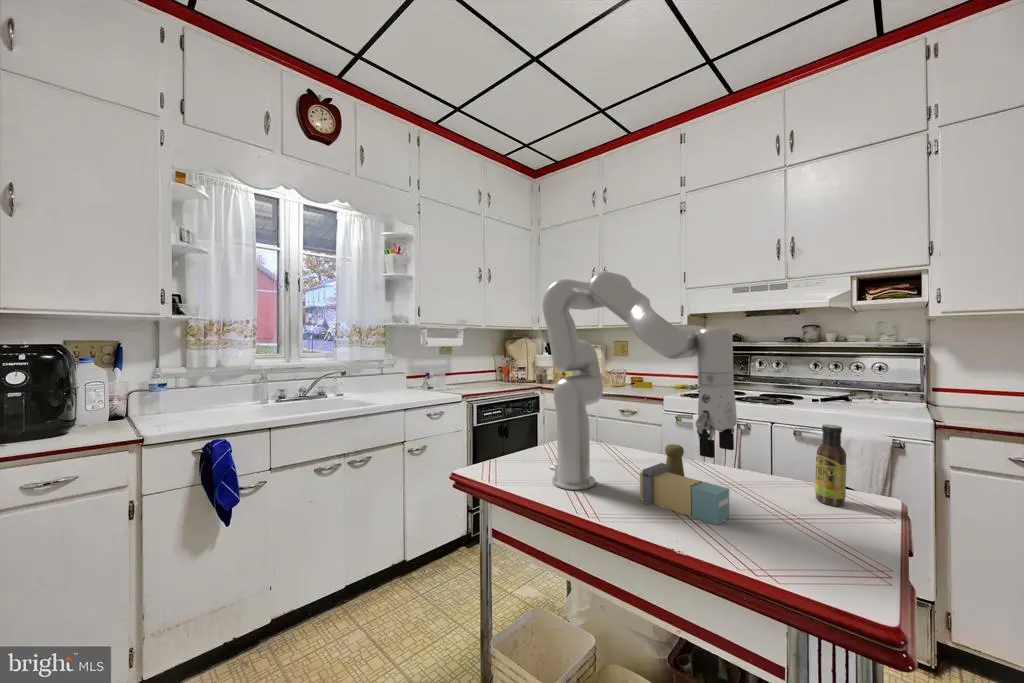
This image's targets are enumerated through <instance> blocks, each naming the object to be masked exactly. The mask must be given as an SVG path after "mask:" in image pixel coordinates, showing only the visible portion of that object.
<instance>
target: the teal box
mask: <svg viewBox="0 0 1024 683" xmlns="http://www.w3.org/2000/svg"><path fill="white" fill-rule="evenodd" d="M691 517H692V518H695V519H697V520H701V521H703V522H706V523H709V524H713V525H715V526H719V525H720V524H722V523H724V522H725V521H726V519H727V518H728V519H729V518H730V488H728V487H724V486H721V485H717V484H713V483H709V482H706V481H703V483H701V484H698V485H696V486H694V487H692V516H691ZM728 519H727V520H728ZM724 520H725V521H724ZM721 522H722V523H721ZM718 524H719V525H718Z"/></svg>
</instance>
